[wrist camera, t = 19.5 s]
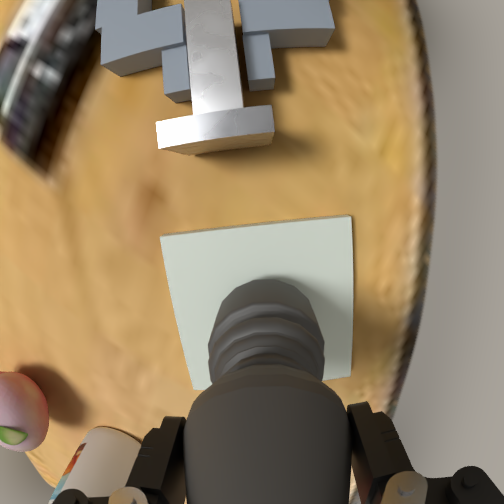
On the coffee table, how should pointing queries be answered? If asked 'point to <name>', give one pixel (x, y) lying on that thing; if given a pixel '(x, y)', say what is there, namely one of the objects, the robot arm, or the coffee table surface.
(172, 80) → the socket block
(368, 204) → the coffee table surface
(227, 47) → the grey t-shaped block
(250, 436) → the candle holder
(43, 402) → the decorative fruit
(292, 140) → the coffee table surface
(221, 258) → the board
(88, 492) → the milk bottle
